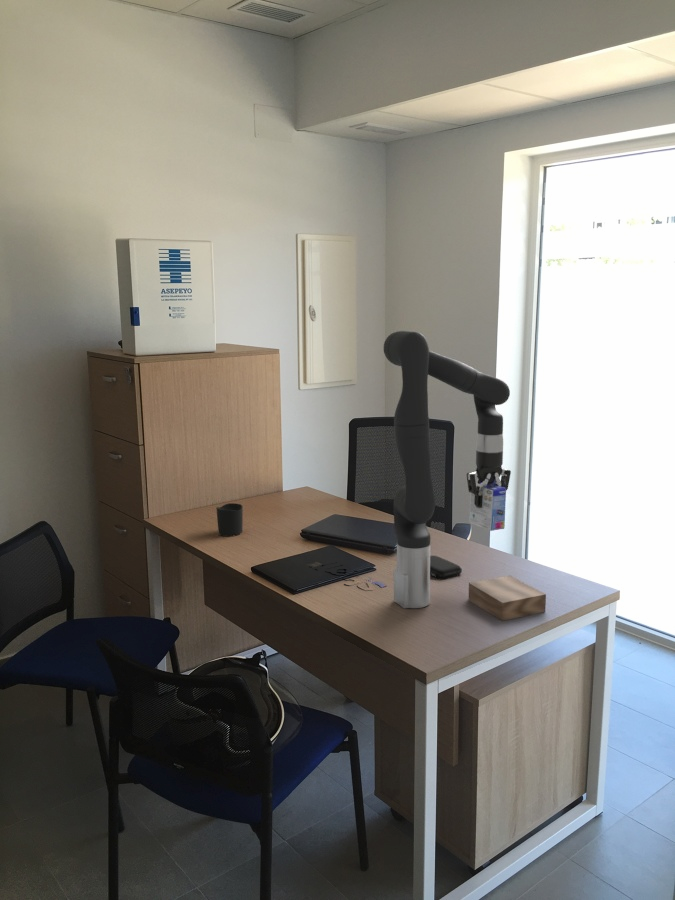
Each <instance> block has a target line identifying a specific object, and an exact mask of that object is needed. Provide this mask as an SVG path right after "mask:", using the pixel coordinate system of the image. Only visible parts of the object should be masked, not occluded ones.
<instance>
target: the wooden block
mask: <svg viewBox="0 0 675 900" xmlns="http://www.w3.org/2000/svg"><path fill="white" fill-rule="evenodd" d="M546 600H547V594H546V593H545V592H542V591H540V590H539V589H538V588H535V587H534V586H531V585H529V584H527V583H525V582H524V581H521V580H519V578H517V577H514V576H512V575H505V576H499V577H495V578H494V577H493V578H489V579H488V578H487V579H483V580H478V581H472V582H468V601H470V602H471V603H473V604H475V605H476V606H478V607H479V608H481V609H483V610H484V611H486V612H488V613H489V614H491V615H493V616H494V617H496V618H498V619H499V620H501V621H508V620H512V619H517V618H521V617H523V618H524V617H526V616H532V615H536V614H541V613H545V612H546V604H547V601H546Z"/></svg>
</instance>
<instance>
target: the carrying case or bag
mask: <svg viewBox="0 0 675 900" xmlns="http://www.w3.org/2000/svg"><path fill="white" fill-rule="evenodd" d="M462 572H463V569H462V568H461V566H460V565H459V564H456V563H454V562H452V561H450V560H447V559H445V558H442V557H440V556H438V555H430V576H432V577H435V578H437V579H448V578H452V577H455V576H459V575H461V573H462Z"/></svg>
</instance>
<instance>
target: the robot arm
mask: <svg viewBox="0 0 675 900" xmlns="http://www.w3.org/2000/svg"><path fill="white" fill-rule="evenodd" d="M429 348H430V347H429V343H428V340H427V339H426V337H425V335H423V334H422V333H421V332H419V331H409V330H407V331H406V330H399V331H398V330H397V331H395V332H393V333H390V334H389V335H388V336H387V337H386V338H385V341H384V342H383V354H384V357H385V358H386V359H387V360H388V361H389V362H390V363H391V364H393V365H394V366H397V367H401V377H402V385H401V386H402V387H401V393H400V397H399V400H398V403H397V405H396V407H395V408H396V409H395V413H394V416H393V417H394V418H393V425H394V426H393V427H394V439H395V444H396V445H395V446H396V448H397V449H396V450H397V452H398V456H399V459H400V461H401V465H402V467H403V471H404V477H405V478H404V479H405V481H404V482H405V484H404V485H402V487H400V488H399V489H398V490H397V491H396V493H395V496H394V498H393V499H394V500H393V528H394V533H395V536H396V568H394V569H393V602H394V603H396V605H397V604H398V605H399V606H400V607H401V608H403V609H419V608H420V609H421V608H425V607H427V606H429V605H430V604H431V603H430V602H431V600H430V599H431V594H430V593H431V585H430V584H431V575H430V556H431V533H430V532H429V530H428V527H427V522H428V521H430V520H431V518H432V517H433V515H434V512H435V508H436V500H435V494H434V493H435V492H434V488H433V487H434V486H433V480H432V479H433V478H432V474H431V473H432V471H431V447H430V446H431V445H430V444H431V443H430V442H431V441H430V437H431V436H430V435H431V434H430V420H429V419H430V417H429V399H428V397H429V396H428V395H429V394H428V377H432V378H434V379H436V380H439V381H440V382H443V383H444V384H446V385H448V386H449V387H453V388H454V389H456V390H459V391H461V392H463V393H465V394H469V395H473V402H474V407H475V412H476V415H477V436H476V444H475V445H476V450H475V466H476V469H475V471H474V472H466V481H467V488H468V493H473V494H474V495H475V502H474V504H475V505H476V507H478V508H482V493H483V490H484V489H485V488H486V485H488V484H492V483H493V482H494V480H496V482H495V484H494V485H496V486H501V487H505V488H506V491H507V490H508V489H509V485H510V484H509V483H510V478H511V473H512V472H511V470H510V469H507V468H503V467H502V465H503V463H504V462H503V461H504V460H503V459H504V417H503V414H502V413H500V412H499V411H497V409H496V406H501V405H503V404H504V403H506V402H508V400H509V398H510V394H511V391H510V387H509V385H508V384H507V383H506V382H505V381H504V380H502V379H500V378H498V377H495V376H492V375H489V374H486V373H484V372H480V371H479V370H477V369H476V368H473V367H472V366H470V365H468V364H466V363H463V362H462V361H459V360H458V359H454V358H450V357H448V356H444V355H442V354H439V353H437V352H434V351H432V350H430V349H429ZM481 483H482V484H481ZM479 487H480V488H479Z"/></svg>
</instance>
